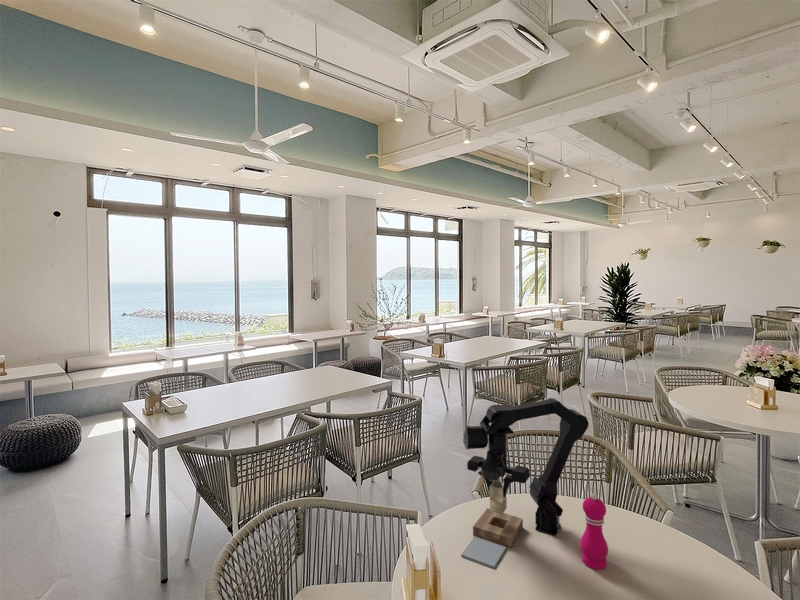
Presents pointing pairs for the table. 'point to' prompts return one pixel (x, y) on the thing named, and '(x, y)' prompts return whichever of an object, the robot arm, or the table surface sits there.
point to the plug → (497, 497)
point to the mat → (484, 552)
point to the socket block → (498, 528)
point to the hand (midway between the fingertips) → (498, 495)
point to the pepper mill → (594, 534)
